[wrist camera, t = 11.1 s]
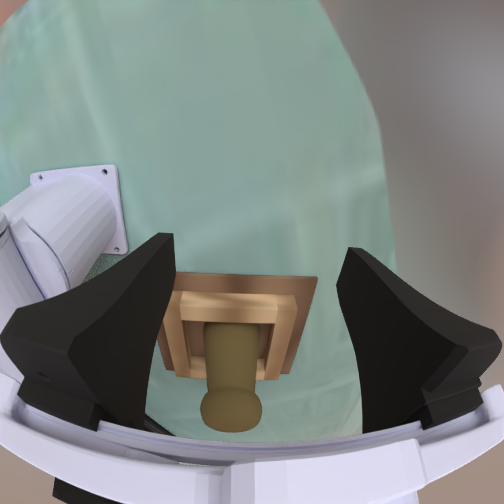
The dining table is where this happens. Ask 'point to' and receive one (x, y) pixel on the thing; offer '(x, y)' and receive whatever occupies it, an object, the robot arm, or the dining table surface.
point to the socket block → (235, 318)
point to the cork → (231, 376)
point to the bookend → (82, 500)
